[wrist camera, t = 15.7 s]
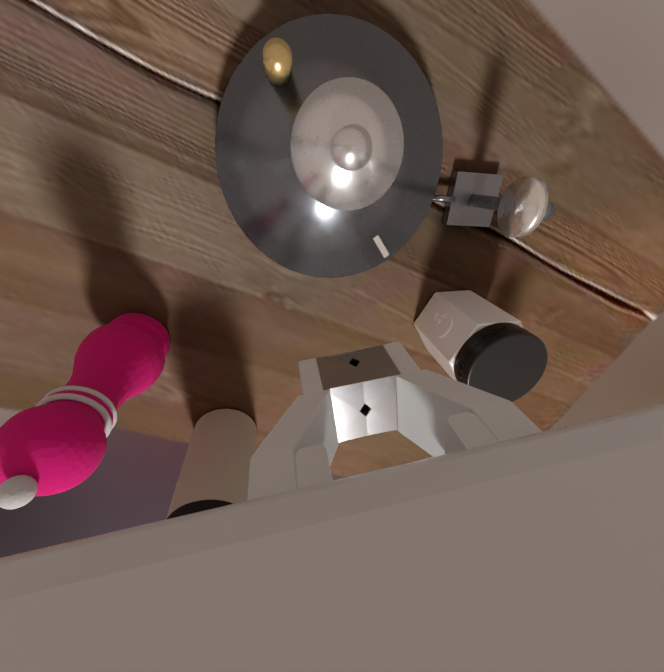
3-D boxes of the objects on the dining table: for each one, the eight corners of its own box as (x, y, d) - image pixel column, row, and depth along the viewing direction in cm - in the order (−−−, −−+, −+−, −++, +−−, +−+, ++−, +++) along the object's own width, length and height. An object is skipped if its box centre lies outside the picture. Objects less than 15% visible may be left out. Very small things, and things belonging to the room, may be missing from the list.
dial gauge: (420, 222, 34) (483, 244, 24) (430, 169, 32) (504, 168, 22) (483, 225, 35) (568, 247, 25) (496, 174, 33) (596, 176, 23)
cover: (341, 228, 31) (351, 236, 27) (267, 151, 27) (265, 148, 23) (411, 151, 29) (433, 147, 25) (341, 56, 25) (354, 35, 21)
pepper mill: (88, 318, 33) (-121, 483, 16) (156, 299, 33) (26, 441, 16) (125, 373, 37) (-12, 559, 19) (186, 356, 37) (107, 524, 19)
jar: (444, 274, 37) (510, 315, 27) (491, 303, 40) (569, 349, 30) (401, 336, 40) (446, 394, 30) (448, 359, 43) (505, 419, 33)
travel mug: (198, 403, 40) (148, 554, 24) (261, 410, 42) (254, 554, 26) (191, 449, 43) (144, 610, 27) (251, 454, 45) (239, 605, 30)
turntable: (463, 196, 33) (492, 200, 29) (307, 307, 36) (312, 326, 31) (366, -43, 24) (386, -91, 20) (166, 130, 27) (145, 122, 22)
